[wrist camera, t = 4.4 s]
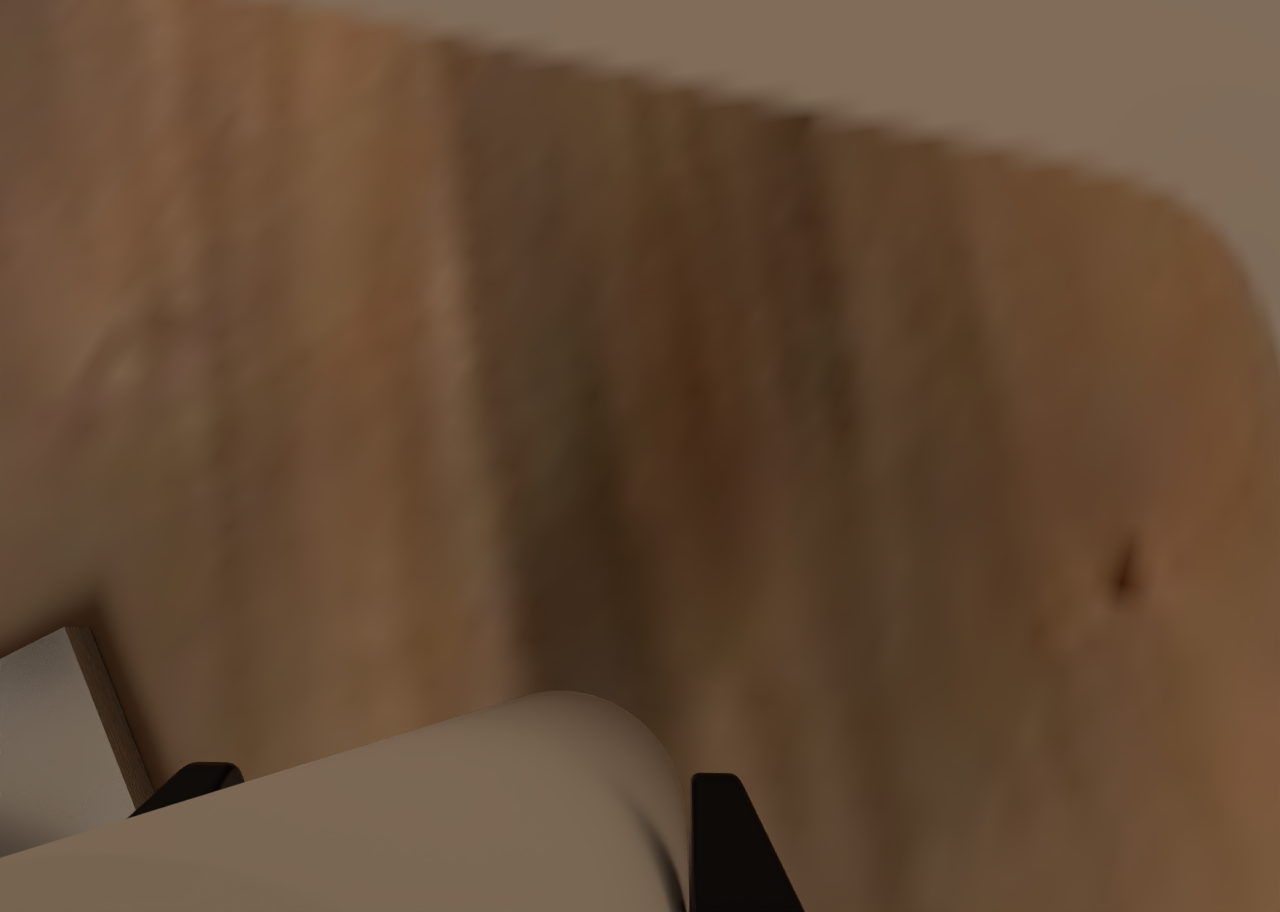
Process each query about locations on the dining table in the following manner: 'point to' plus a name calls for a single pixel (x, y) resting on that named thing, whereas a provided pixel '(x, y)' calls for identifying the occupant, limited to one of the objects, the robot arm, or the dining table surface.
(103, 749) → the square plate with nut
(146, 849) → the beige cylinder
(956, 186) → the dining table surface
